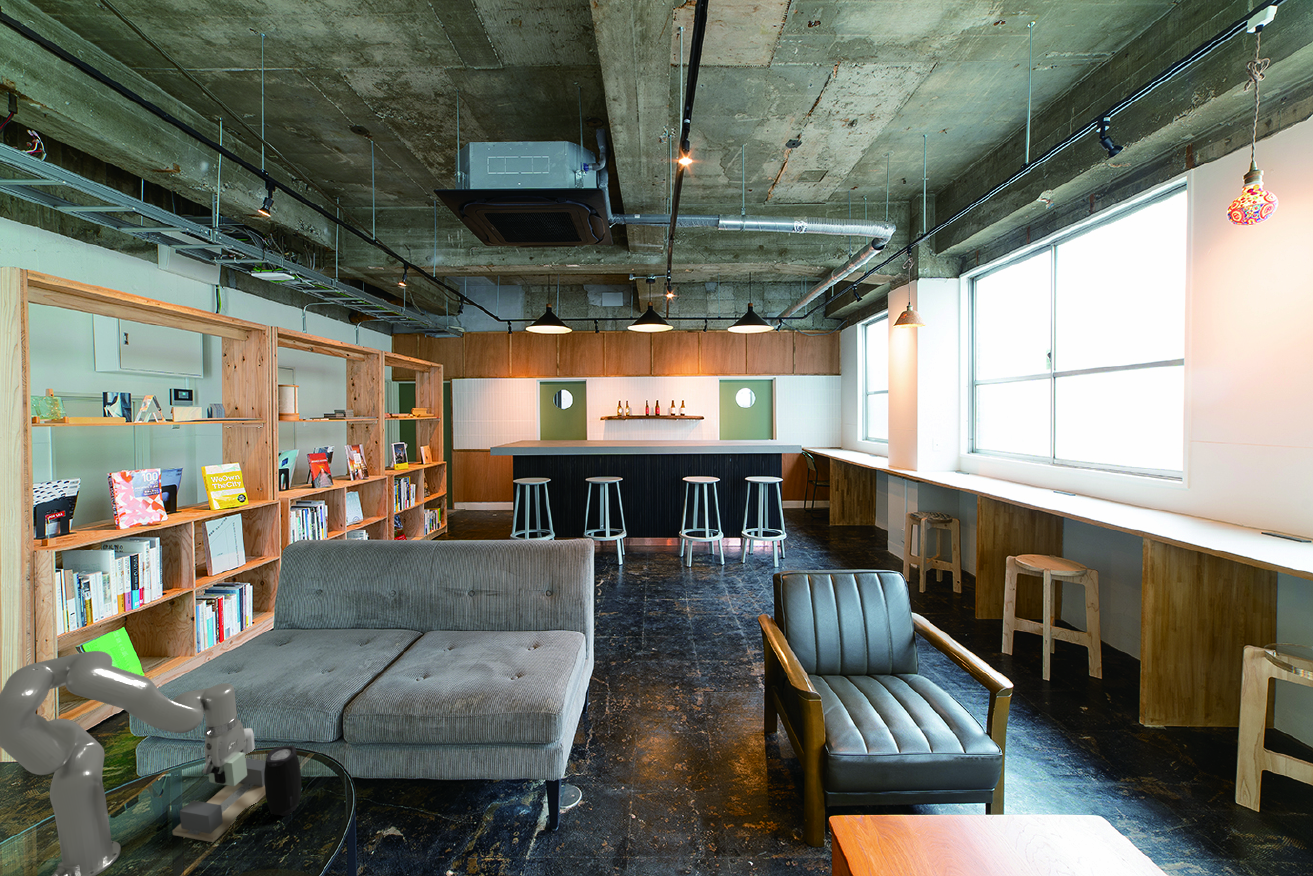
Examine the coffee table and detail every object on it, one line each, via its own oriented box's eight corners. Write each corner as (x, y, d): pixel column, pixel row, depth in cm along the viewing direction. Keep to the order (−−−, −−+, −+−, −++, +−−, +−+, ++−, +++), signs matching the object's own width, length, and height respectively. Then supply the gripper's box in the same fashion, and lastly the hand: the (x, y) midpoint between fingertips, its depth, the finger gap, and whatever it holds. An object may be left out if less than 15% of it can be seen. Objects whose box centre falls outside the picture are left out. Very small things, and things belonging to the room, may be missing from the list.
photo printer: (256, 754, 194) (253, 722, 193) (255, 761, 191) (252, 729, 189) (219, 765, 189) (216, 733, 187) (218, 773, 185) (214, 740, 183)
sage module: (234, 786, 168) (231, 763, 167) (209, 782, 169) (206, 759, 168) (247, 775, 172) (244, 753, 171) (222, 771, 174) (220, 749, 172)
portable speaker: (267, 805, 173) (262, 750, 170) (301, 792, 178) (297, 739, 175) (267, 824, 166) (262, 767, 163) (303, 810, 171) (299, 754, 168)
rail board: (213, 842, 159) (211, 820, 158) (172, 834, 161) (170, 812, 160) (280, 780, 183) (279, 760, 182) (244, 774, 185) (243, 754, 184)
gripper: (206, 745, 159) (213, 799, 162) (256, 708, 176) (261, 758, 178) (184, 741, 160) (191, 796, 163) (236, 705, 177) (241, 755, 179)
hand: (228, 775), depth 171 cm, fingers closed on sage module, 4 cm apart
